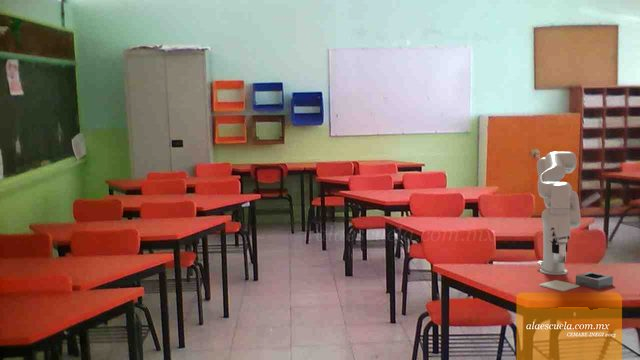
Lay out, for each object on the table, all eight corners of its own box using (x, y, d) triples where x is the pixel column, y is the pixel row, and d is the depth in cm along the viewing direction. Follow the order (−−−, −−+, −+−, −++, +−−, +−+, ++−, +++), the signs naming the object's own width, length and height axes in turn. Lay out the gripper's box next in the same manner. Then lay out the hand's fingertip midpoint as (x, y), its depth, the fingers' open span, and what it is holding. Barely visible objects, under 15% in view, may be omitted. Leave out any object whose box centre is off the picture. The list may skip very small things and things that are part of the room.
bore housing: (575, 284, 269) (575, 275, 269) (589, 280, 275) (590, 271, 275) (598, 289, 260) (598, 280, 260) (612, 285, 266) (612, 276, 266)
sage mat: (539, 285, 268) (539, 284, 268) (555, 281, 275) (555, 279, 275) (562, 291, 258) (562, 290, 258) (579, 286, 265) (579, 285, 265)
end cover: (549, 261, 266) (549, 238, 265) (557, 259, 269) (558, 236, 269) (561, 263, 261) (561, 240, 260) (569, 261, 264) (570, 238, 264)
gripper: (564, 209, 271) (563, 248, 273) (540, 212, 262) (540, 253, 263) (579, 210, 265) (578, 251, 267) (555, 214, 256) (555, 256, 257)
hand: (559, 251), depth 265 cm, fingers closed on end cover, 5 cm apart
